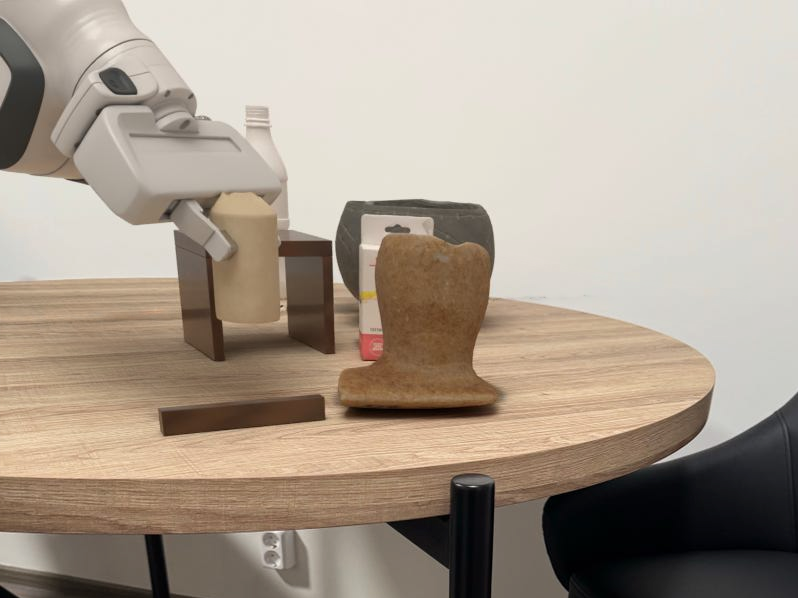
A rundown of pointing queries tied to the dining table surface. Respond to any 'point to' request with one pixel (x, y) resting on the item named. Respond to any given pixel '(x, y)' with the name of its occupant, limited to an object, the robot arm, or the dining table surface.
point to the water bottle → (266, 149)
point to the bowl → (449, 225)
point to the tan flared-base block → (425, 327)
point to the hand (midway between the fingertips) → (251, 252)
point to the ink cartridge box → (368, 254)
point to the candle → (247, 260)
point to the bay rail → (241, 414)
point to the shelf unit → (303, 289)
